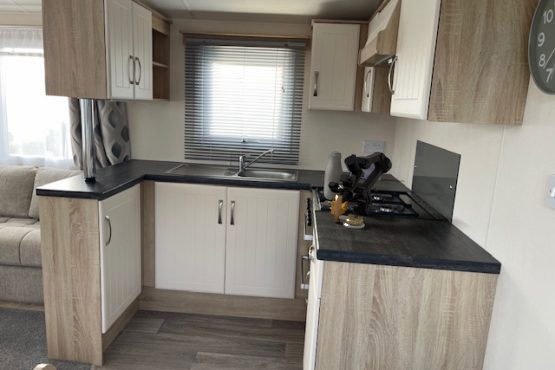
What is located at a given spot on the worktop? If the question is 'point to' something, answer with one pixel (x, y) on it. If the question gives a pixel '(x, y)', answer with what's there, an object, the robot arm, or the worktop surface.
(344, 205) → the pipe clamp
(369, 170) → the cake pan box
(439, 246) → the worktop surface
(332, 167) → the glass bottle
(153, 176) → the worktop surface
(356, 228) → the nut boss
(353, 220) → the bronze dome and bar
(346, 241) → the worktop surface
